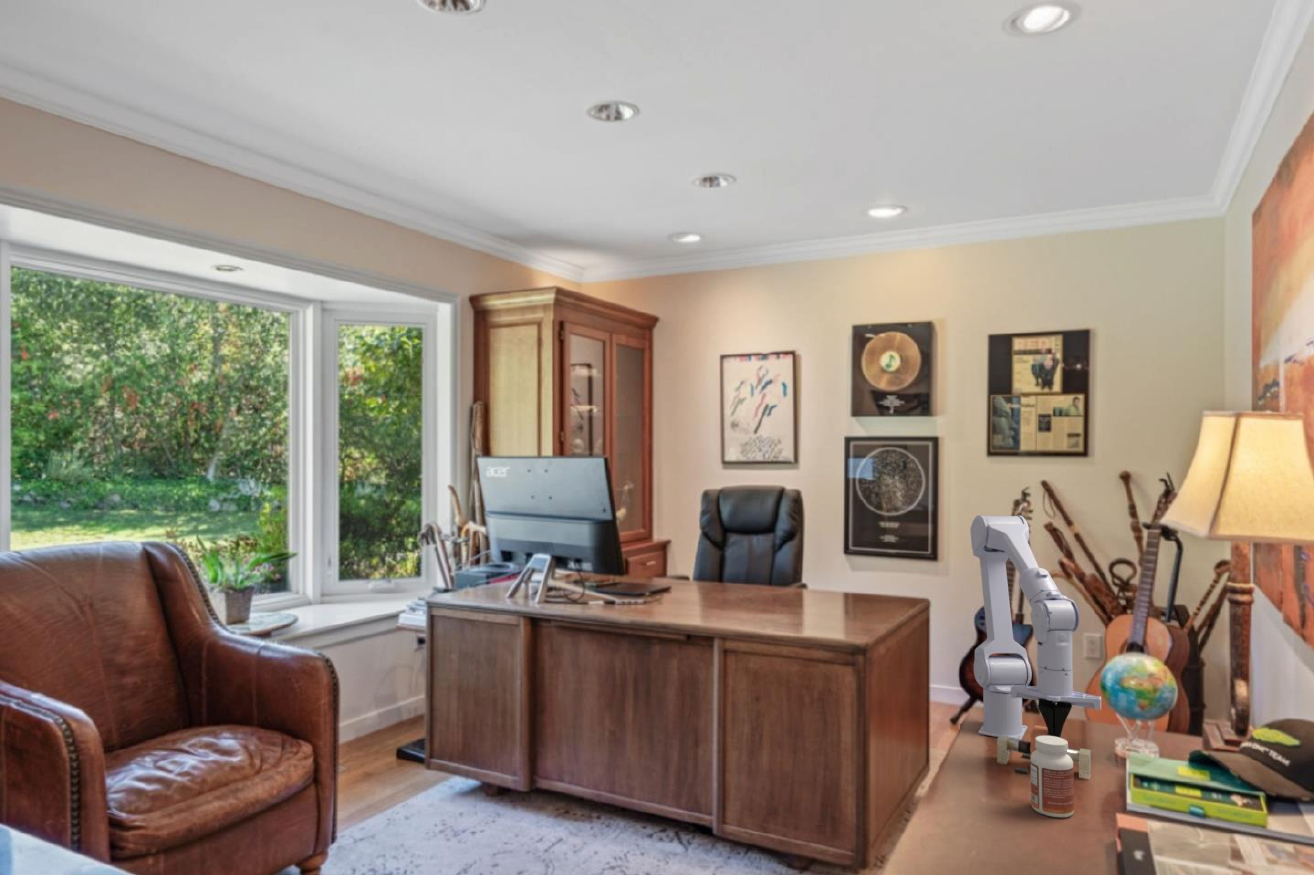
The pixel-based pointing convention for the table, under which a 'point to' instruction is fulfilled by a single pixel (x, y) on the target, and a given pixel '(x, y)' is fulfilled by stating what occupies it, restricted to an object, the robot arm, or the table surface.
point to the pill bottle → (1052, 777)
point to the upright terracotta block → (1035, 733)
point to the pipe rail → (1025, 747)
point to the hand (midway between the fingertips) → (1055, 743)
